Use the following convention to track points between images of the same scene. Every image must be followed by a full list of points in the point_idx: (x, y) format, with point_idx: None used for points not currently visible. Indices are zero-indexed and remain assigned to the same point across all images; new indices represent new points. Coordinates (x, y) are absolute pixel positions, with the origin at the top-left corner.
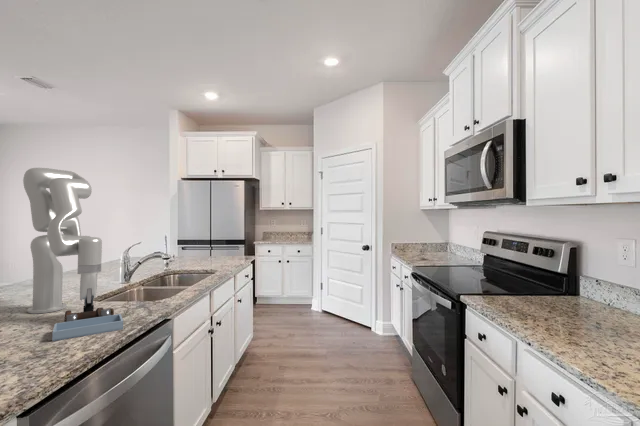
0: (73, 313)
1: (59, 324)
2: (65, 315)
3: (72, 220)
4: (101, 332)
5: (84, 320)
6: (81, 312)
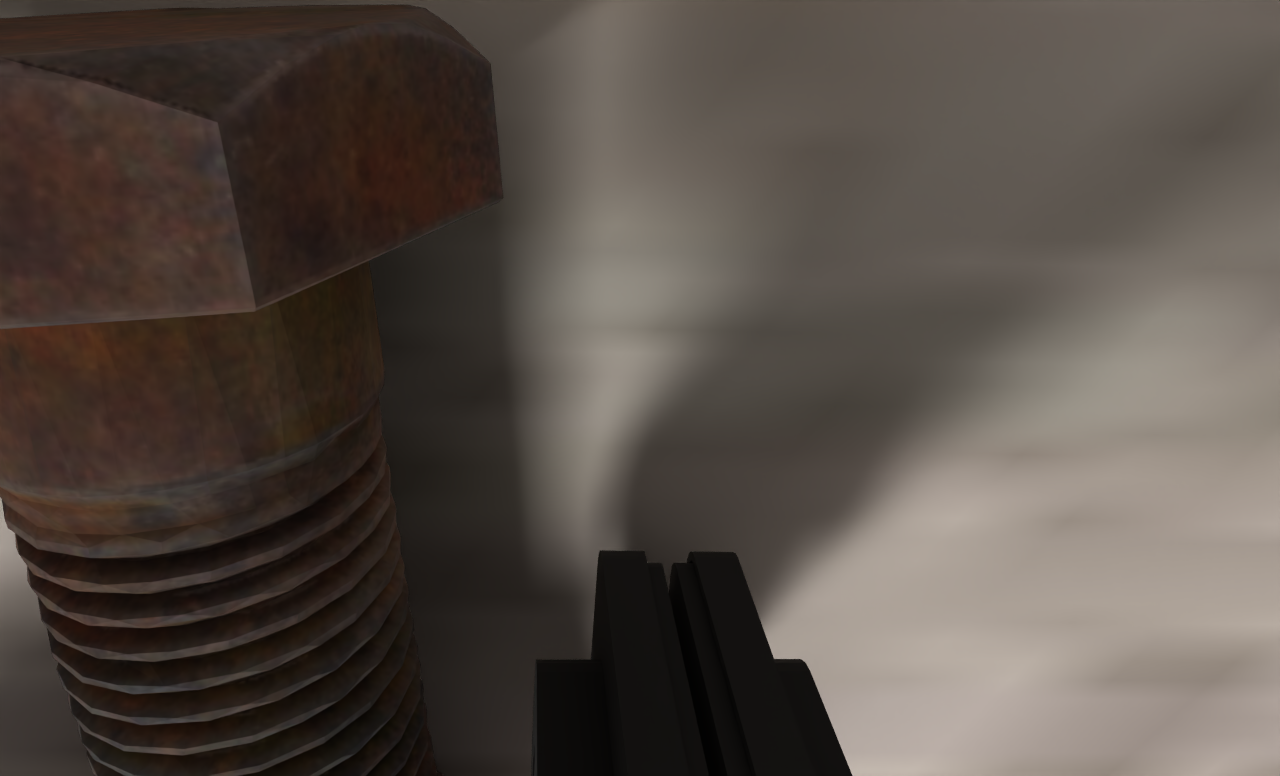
0: (22, 389)
1: None
2: (33, 38)
3: None
4: None
5: None
6: (141, 655)
